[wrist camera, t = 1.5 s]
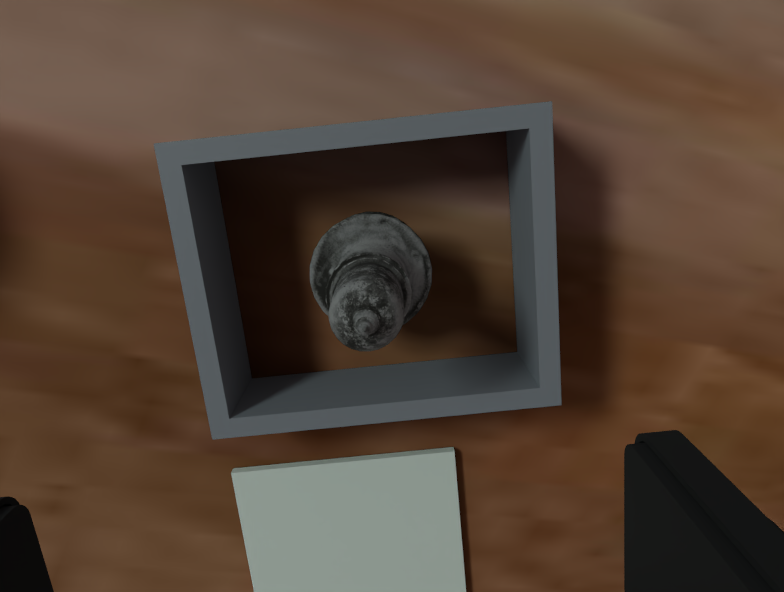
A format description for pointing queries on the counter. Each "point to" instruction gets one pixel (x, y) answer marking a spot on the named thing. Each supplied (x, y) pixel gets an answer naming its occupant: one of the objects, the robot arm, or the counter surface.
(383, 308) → the stone chess piece
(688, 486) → the robot arm
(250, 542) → the mat
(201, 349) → the crate
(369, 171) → the counter surface
